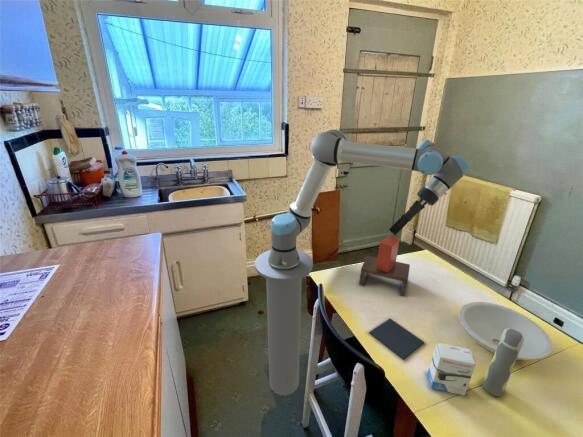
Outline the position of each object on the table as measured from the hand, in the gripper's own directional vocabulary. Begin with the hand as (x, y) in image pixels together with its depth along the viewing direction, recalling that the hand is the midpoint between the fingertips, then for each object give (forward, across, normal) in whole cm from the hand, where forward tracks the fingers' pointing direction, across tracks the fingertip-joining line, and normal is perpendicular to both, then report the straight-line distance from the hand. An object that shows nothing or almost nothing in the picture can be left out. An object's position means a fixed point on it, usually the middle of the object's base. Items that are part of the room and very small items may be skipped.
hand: (391, 232), depth 113 cm
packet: (+12, +5, -8) cm, 15 cm away
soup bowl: (+4, -12, -47) cm, 49 cm away
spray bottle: (+13, -30, -46) cm, 56 cm away
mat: (+24, -20, -24) cm, 40 cm away
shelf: (+18, +8, -12) cm, 23 cm away
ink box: (+21, -32, -37) cm, 53 cm away
